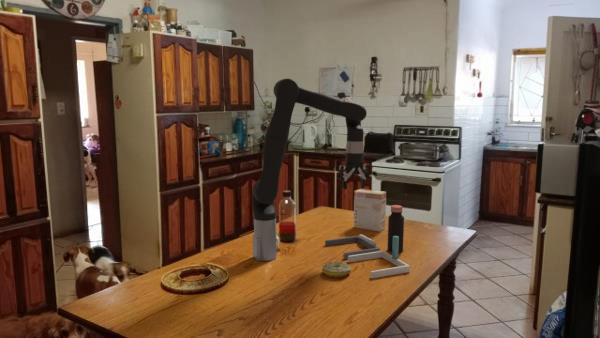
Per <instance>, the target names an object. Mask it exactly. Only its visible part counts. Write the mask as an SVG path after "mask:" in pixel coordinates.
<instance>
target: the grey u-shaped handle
mask: <svg viewBox="0 0 600 338" xmlns="http://www.w3.org/2000/svg"><path fill="white" fill-rule="evenodd" d="M351 243H352V244H353V243H358V244H360V245H361V246H363V247H365V248H366V249H359V250H354V251H347V252H343V257H342V258H343V259H344V260H348V256H350V255H357V254H364V253H370V252H377V251H381V250H380V249H381V248H380V247H378V246H376V245H377V242H376V241H375V240H373V239H371V238H370V237H368V236H366V235H364V234H361V233H360V234H359V235H355V236H348V237H341V238H333V239H325V240H324V246H325V247H330V246H337V245H346V244H351Z"/></svg>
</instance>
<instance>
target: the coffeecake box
mask: <svg viewBox="0 0 600 338" xmlns="http://www.w3.org/2000/svg"><path fill="white" fill-rule="evenodd" d="M353 196H354V199H353V228H357V229H362V230H368V231H374V232H378V233H379V232H382V231H384V230H385V229H386V217H387V191H383V190H373V189H372V190H371V189H364V188H359V189H356V190H354V194H353Z"/></svg>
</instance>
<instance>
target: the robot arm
mask: <svg viewBox="0 0 600 338" xmlns="http://www.w3.org/2000/svg"><path fill="white" fill-rule="evenodd" d="M273 95H274V96H275V103H274V104H275V105H274V110H273V114H272V116H271V119H270V122H269V124H268V126H267V129H266V132H265V137H264V140H263V145H262V171H261V176H260V178H259V179H258V180H256V182H254V184H253V185H252V191H251V197H252V198H251V199H252V212H253V235H252V257H253V258H254V259H255V260H256V261H258V262H259V261H260V262H270V261H273V260H275V259H277V211H276V207H275V200H276V198H277V197H278V191H279V182H280V175H281V169H282V166H283V161H284V158H285V153H286V148H287V145H288V139H289V134H290V131H291V130H290V129H291V123H292V121H291V120H292V116H293V112H294V108H295V106H296V104H301V105H303V106H307V107H310V108H313V109H315V110H319V111H321V112H324V113H326V114H331V115H334V116H337V117H339V116H340V117H342V118H345V124H346V131H347V132H346V145H345V165H342V164H341V165H338V172H337V173H338V174H337V179H338V180H341V187H342V190H346V191H347V189H348V179H349V178H350V177H351V176H359V177H360V189H364V188H365V187H366V180H367V179H369V178H370V176H371V174H370V173H371V172H370V171H371V170H370V169H371V168H370V164H367V163H365V164H363V163H364V151H365V147H364V129H363V127H362V121H363V120H365V118H366V117H367V109H366V108H365V107H364V106H363V105H361V104H358V103H355V102H352V101H351V102H350V101H346V100H344V99H341V98H338V97H335V96H332V95H329V94H326V93H320V92H316V91H312V90H308V89H305V88H303V87H300V86H299V85H298V83H297V82H296V81H295V80H294V79H292V78H282V79H280V80H278V81H277V82H275V85H274V86H273ZM363 170H364V172H363Z"/></svg>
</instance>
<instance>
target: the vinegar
mask: <svg viewBox="0 0 600 338" xmlns="http://www.w3.org/2000/svg"><path fill="white" fill-rule="evenodd" d="M390 213H391V214H389V216H388V222H387V223H388V224H387V251H388V252H390V253H392V245H393V236H399V247H398V253H401V252H403V251H404V236H405V235H404V233H405V232H404V231H405V217H404V216H403V215H402V213H403V206H402V205H399V204H393V205H391V206H390Z"/></svg>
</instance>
